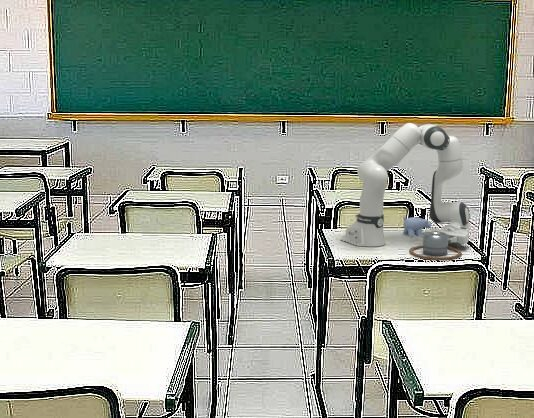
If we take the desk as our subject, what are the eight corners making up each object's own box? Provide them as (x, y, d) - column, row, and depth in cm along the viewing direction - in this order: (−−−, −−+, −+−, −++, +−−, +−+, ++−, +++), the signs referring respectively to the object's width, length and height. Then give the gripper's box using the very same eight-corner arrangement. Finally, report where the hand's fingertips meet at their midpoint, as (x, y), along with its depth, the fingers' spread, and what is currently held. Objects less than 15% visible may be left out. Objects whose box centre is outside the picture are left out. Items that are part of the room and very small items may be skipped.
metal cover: (417, 253, 345) (418, 232, 343) (432, 249, 352) (433, 228, 350) (437, 258, 337) (438, 236, 335) (452, 253, 344) (453, 232, 342)
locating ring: (399, 252, 346) (399, 250, 346) (430, 244, 361) (430, 242, 361) (440, 263, 329) (440, 260, 329) (471, 254, 344) (471, 251, 343)
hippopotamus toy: (434, 236, 377) (435, 217, 375) (406, 237, 375) (406, 218, 373) (426, 231, 388) (427, 213, 386) (398, 232, 385) (399, 214, 383)
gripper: (430, 224, 364) (419, 229, 353) (472, 229, 353) (461, 235, 342) (430, 236, 366) (418, 242, 354) (471, 242, 354) (460, 249, 343)
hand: (440, 239), depth 348 cm, fingers open, 8 cm apart
